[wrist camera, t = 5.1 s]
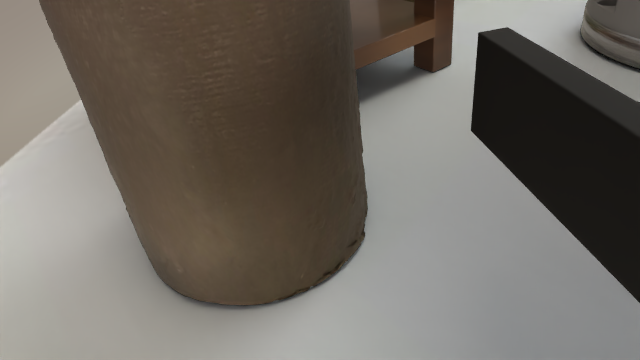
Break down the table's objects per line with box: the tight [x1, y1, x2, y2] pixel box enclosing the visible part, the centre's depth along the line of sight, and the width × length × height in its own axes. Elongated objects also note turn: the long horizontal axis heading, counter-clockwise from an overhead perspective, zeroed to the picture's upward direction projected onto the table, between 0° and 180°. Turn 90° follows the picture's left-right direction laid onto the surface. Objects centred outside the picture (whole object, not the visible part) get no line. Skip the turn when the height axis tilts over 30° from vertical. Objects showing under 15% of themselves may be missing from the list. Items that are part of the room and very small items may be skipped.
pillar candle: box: [39, 0, 368, 305], centre depth 18 cm, size 10×10×15 cm
